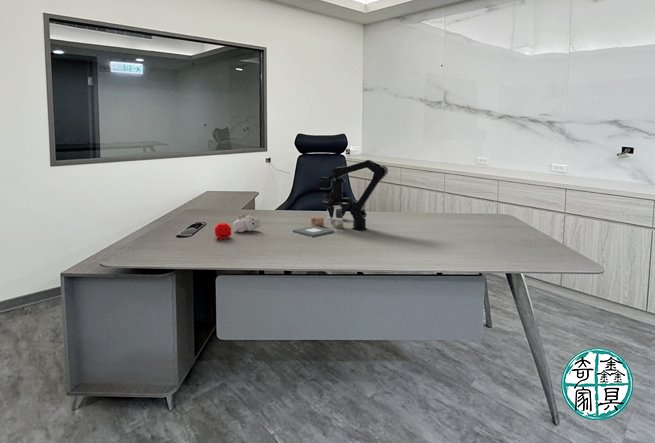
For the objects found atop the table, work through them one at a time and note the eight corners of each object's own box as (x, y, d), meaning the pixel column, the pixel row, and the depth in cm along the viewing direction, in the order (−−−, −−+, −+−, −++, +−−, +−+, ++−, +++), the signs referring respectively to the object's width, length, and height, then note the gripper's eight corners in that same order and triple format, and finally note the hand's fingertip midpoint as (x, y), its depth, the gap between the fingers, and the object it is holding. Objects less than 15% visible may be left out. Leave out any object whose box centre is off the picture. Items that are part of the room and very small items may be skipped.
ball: (215, 240, 252) (215, 225, 250) (214, 236, 259) (214, 222, 258) (231, 239, 254) (231, 225, 252) (230, 235, 261) (229, 221, 260)
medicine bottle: (336, 220, 302) (336, 201, 300) (326, 218, 306) (327, 199, 304) (343, 218, 308) (343, 199, 305) (333, 217, 312) (333, 198, 309)
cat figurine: (230, 215, 269) (258, 211, 270) (232, 219, 276) (259, 216, 278) (232, 231, 266) (260, 227, 267) (234, 236, 273) (261, 232, 275)
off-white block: (343, 227, 283) (343, 219, 282) (336, 228, 280) (337, 220, 279) (337, 226, 287) (337, 217, 286) (330, 227, 284) (330, 218, 283)
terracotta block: (323, 226, 287) (323, 217, 285) (317, 227, 283) (317, 218, 282) (317, 224, 290) (317, 216, 289) (311, 226, 287) (311, 217, 286)
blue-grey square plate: (334, 232, 271) (334, 230, 271) (312, 237, 260) (312, 234, 260) (314, 227, 282) (314, 225, 282) (292, 231, 272) (292, 229, 271)
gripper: (339, 186, 291) (338, 212, 294) (315, 189, 278) (315, 217, 282) (352, 188, 283) (352, 215, 286) (329, 192, 271) (329, 220, 274)
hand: (337, 216), depth 282 cm, fingers open, 9 cm apart
